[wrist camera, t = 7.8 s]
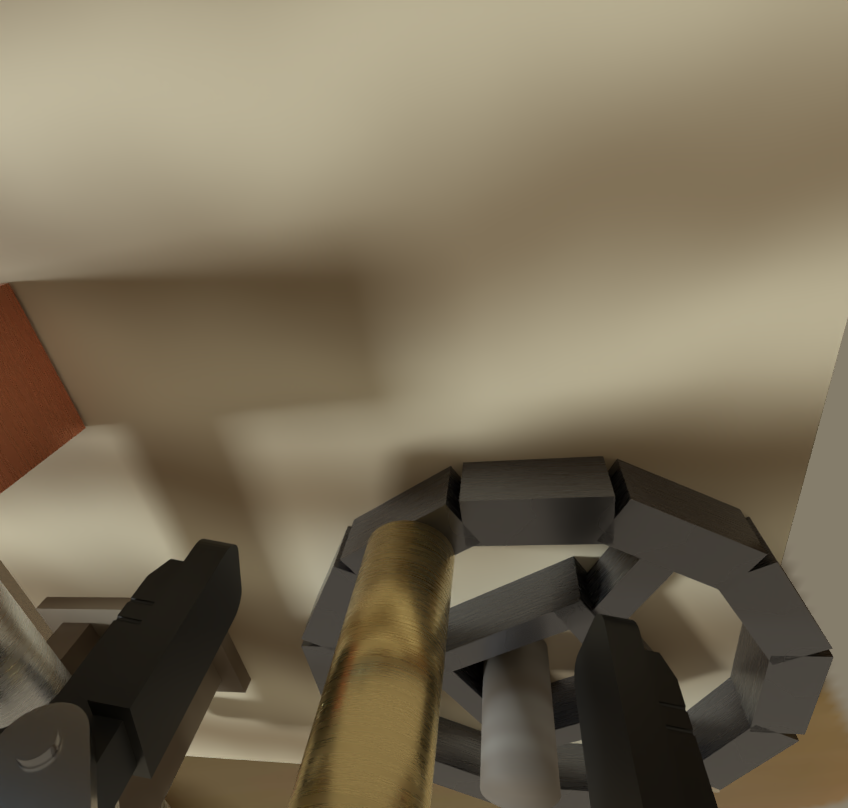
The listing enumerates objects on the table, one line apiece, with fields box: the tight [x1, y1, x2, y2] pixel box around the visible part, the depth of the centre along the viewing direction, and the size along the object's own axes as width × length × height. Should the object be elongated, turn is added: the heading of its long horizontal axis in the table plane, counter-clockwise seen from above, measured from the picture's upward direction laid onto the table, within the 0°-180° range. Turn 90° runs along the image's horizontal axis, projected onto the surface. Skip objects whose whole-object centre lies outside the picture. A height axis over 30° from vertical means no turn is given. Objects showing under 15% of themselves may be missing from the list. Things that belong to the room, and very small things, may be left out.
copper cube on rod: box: [0, 283, 183, 808], centre depth 13 cm, size 18×4×8 cm, turn 8°
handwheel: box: [288, 456, 833, 808], centre depth 13 cm, size 14×14×8 cm
